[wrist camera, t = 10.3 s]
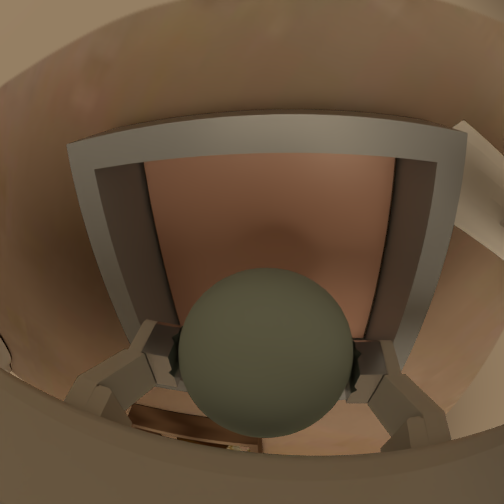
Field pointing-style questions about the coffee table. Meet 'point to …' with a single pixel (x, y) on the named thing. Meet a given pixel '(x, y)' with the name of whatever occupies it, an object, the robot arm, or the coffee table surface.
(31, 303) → the coffee table surface
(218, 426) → the fruit tray
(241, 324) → the ball
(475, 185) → the heart sculpture
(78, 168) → the grey square tray
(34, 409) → the robot arm
